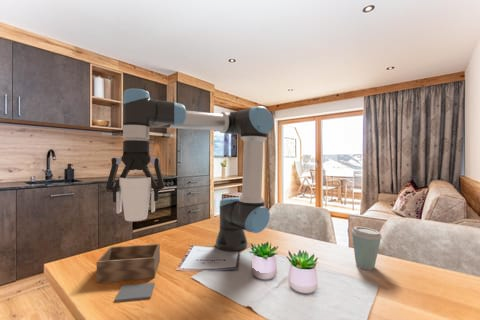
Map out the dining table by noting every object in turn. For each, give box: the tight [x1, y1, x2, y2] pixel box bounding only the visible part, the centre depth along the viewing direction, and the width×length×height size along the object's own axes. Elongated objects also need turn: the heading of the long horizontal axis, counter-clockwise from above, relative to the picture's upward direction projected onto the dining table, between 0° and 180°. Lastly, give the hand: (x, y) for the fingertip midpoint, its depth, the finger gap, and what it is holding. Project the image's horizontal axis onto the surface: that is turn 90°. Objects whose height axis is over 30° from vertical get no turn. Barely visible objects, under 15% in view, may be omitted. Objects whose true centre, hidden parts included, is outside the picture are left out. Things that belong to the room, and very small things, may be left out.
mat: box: [114, 282, 156, 303], centre depth 75 cm, size 10×8×1 cm
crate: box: [96, 243, 161, 284], centre depth 89 cm, size 19×14×7 cm
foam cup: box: [118, 175, 152, 222], centre depth 74 cm, size 10×9×13 cm
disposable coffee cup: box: [351, 226, 382, 271], centre depth 94 cm, size 11×11×15 cm
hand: (136, 211), depth 74 cm, fingers closed on foam cup, 9 cm apart
